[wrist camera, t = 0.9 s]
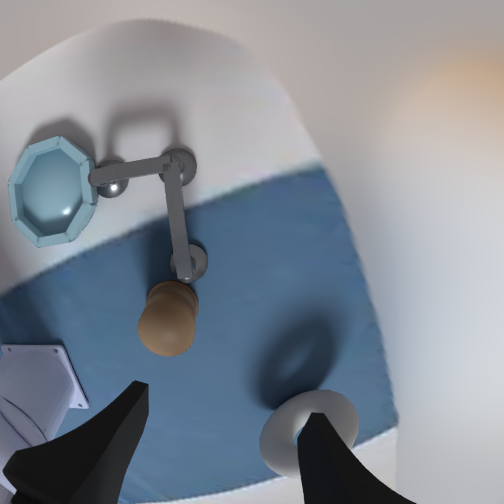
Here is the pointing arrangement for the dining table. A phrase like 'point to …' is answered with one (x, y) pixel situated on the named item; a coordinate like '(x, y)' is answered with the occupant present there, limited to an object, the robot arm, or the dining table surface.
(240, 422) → the dining table surface
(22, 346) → the robot arm
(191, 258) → the bent rail
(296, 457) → the donut
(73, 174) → the dish
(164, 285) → the cylinder
